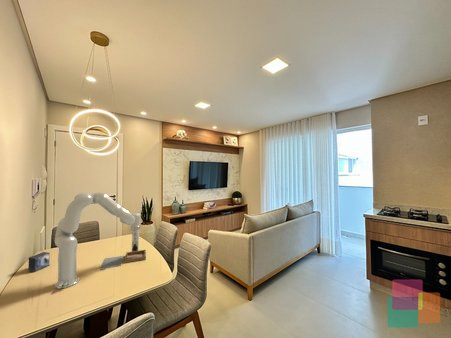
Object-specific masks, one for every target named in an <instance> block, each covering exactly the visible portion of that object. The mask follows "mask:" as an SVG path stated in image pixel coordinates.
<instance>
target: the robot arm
mask: <svg viewBox="0 0 451 338" xmlns="http://www.w3.org/2000/svg"><path fill="white" fill-rule="evenodd" d="M95 204H98V205H99V206H101V207H102V208H103V209H104V210H105V211H106V212H108V213H109V214H111V215H112V216H115V217H117V218H119V221H120V222H121V224H123V225H126V226H130V231H131V244H132V243H133V251H137V242H140V230H141V214H140V212H135V213H131V212H129V211H128V210H127V209H125V208H124V207H123V206H121V205H120V204H118V202H117V201H115V200H114V199H113V198H112V197H111V196H109V195H108V194H107V193H103V192H84V193H83V192H81V193H77V194H76V195H75V196H74V198H73V200H72V201H71V202H70V203H69V204H68V206H67V208H66V210H65V214H64V217H63V218H62V219H60V220H59V221H58V223H57V226H56V232H55V236H54V237H55V238H54V245H55V246H56V247H57V248H58V255H57V282H56V283H55V284H54V288H55V289H58V290H59V289H67V288H69V287H73V286H74V285H76V284H78V282H79V281H80V277H79V276H77V249H78V240H77V239H78V238H76V236H74V235H73V233H75V232H76V231H78V229H79V226H80V221H81V216H82V212H83V210H84V209H85V208H86V207H89V206H90V205H95Z"/></svg>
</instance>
